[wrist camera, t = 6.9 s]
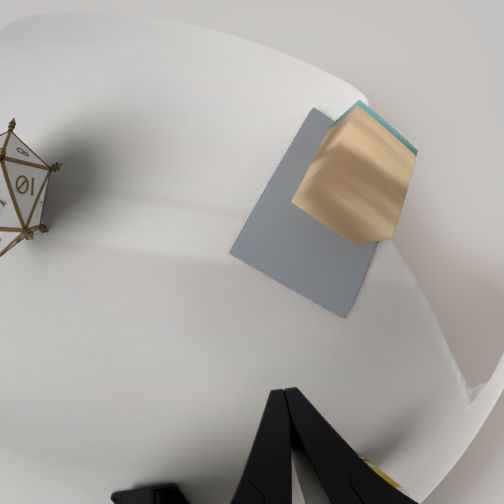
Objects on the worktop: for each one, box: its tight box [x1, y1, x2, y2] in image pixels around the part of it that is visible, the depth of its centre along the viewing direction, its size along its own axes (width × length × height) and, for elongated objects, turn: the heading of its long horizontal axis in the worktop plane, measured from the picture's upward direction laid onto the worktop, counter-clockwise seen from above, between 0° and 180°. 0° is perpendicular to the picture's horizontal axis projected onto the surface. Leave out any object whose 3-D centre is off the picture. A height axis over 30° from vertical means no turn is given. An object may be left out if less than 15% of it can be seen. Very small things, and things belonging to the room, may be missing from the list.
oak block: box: [291, 100, 417, 245], centre depth 19 cm, size 4×6×8 cm
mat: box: [229, 108, 378, 318], centre depth 21 cm, size 14×10×1 cm
